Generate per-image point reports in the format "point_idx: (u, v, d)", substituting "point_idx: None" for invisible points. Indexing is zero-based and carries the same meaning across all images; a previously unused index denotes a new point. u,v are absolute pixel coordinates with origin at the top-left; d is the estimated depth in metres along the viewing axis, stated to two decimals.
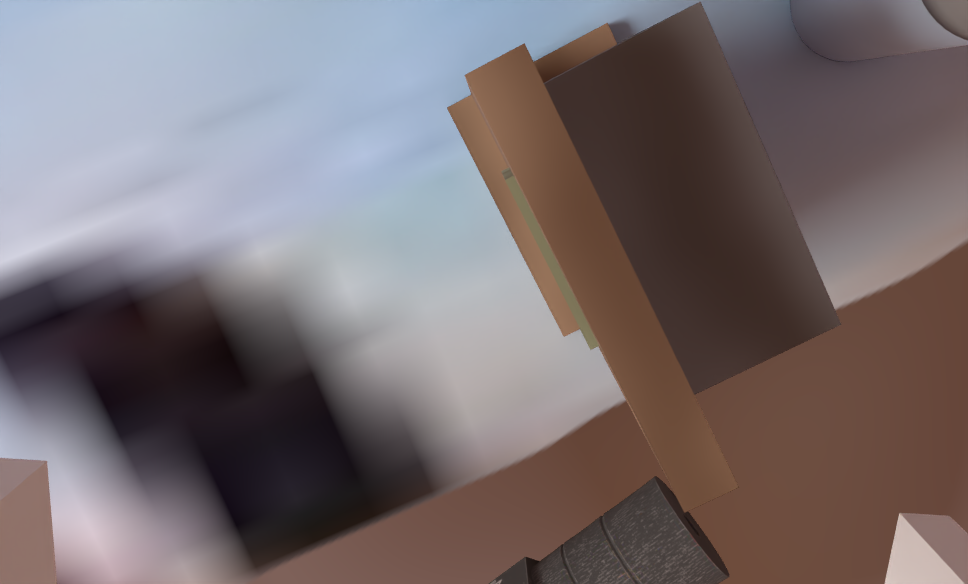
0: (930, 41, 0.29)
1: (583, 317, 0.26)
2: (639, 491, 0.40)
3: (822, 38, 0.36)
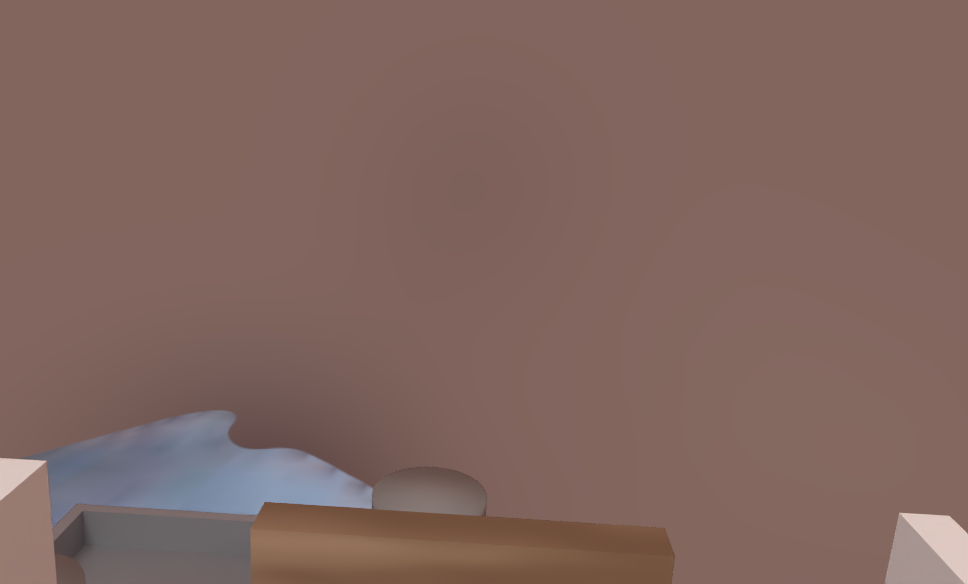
0: None
1: None
2: None
3: None
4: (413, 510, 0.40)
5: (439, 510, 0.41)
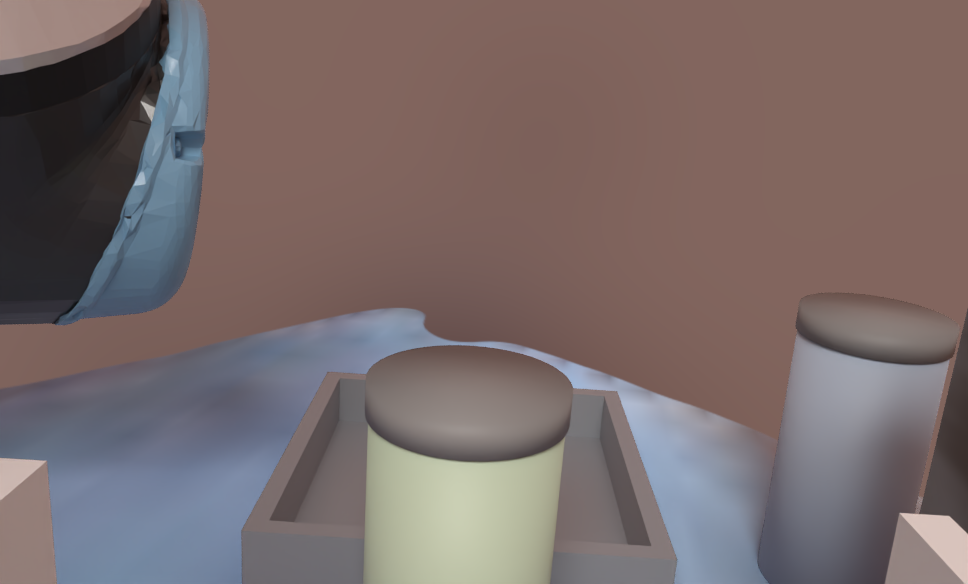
0: (935, 409, 0.32)
1: None
2: None
3: (880, 573, 0.33)
4: (880, 327, 0.31)
5: (911, 327, 0.31)
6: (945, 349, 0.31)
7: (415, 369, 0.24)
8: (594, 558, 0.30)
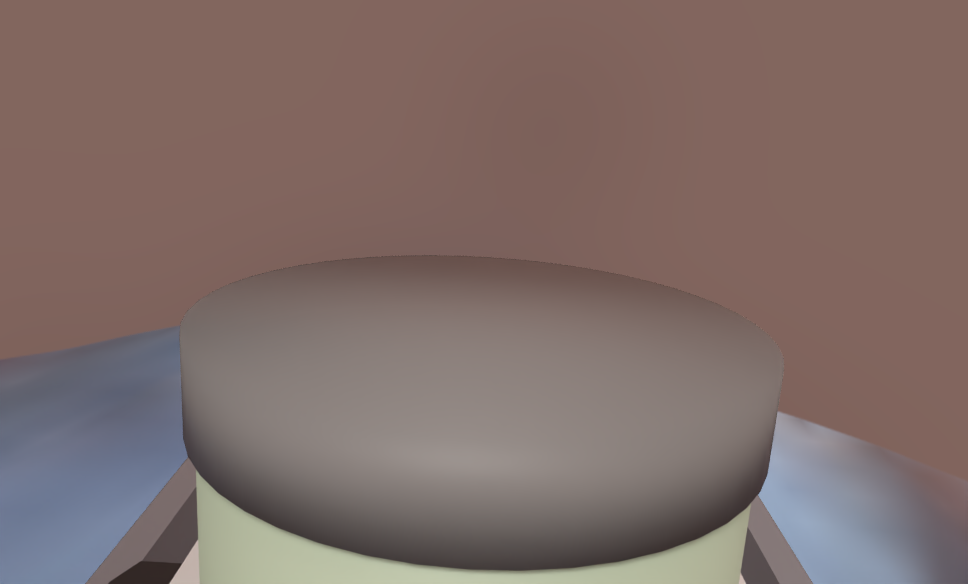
0: None
1: None
2: None
3: None
4: None
5: None
6: None
7: (337, 294, 0.09)
8: None
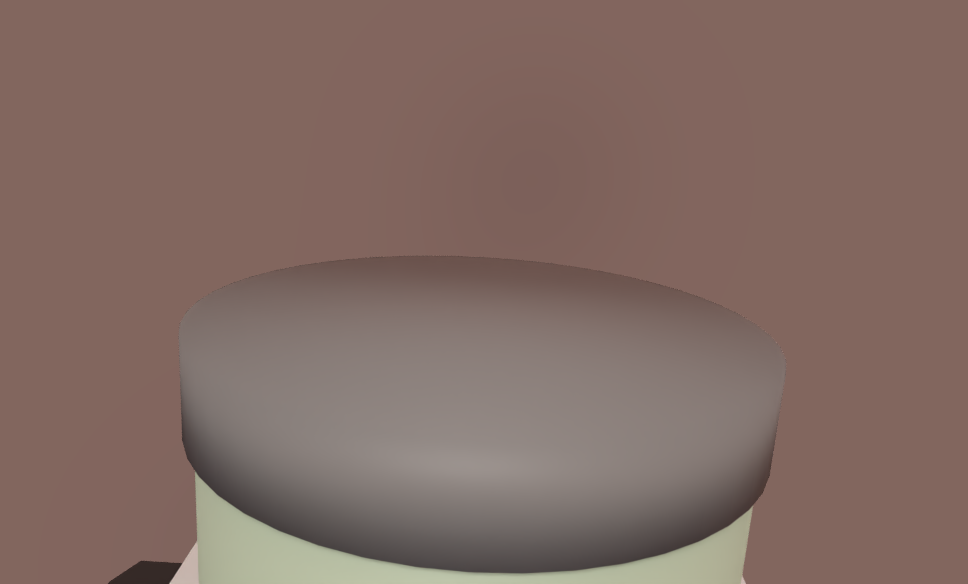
0: None
1: None
2: None
3: None
4: None
5: None
6: None
7: (337, 294, 0.09)
8: None
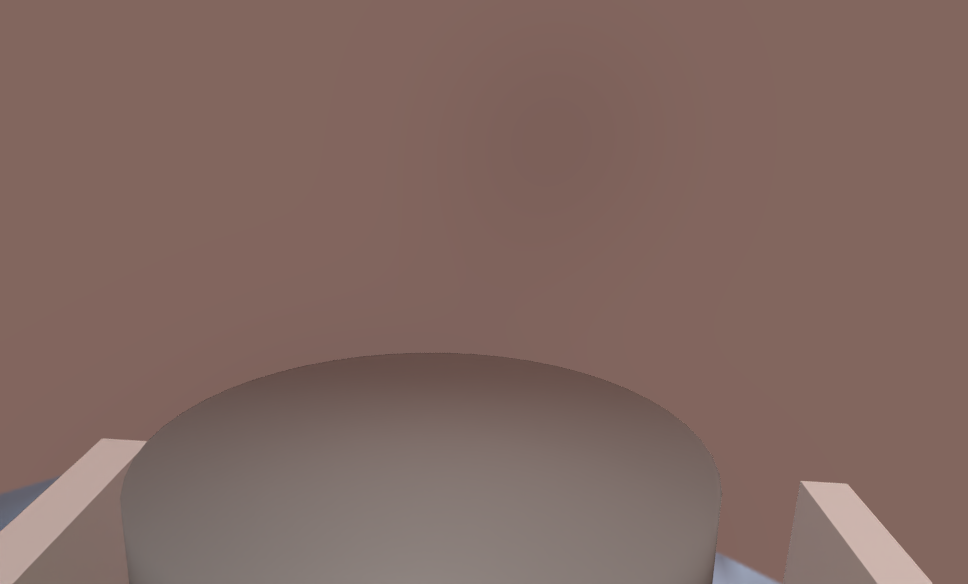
0: None
1: None
2: None
3: None
4: None
5: None
6: None
7: (286, 422, 0.09)
8: None
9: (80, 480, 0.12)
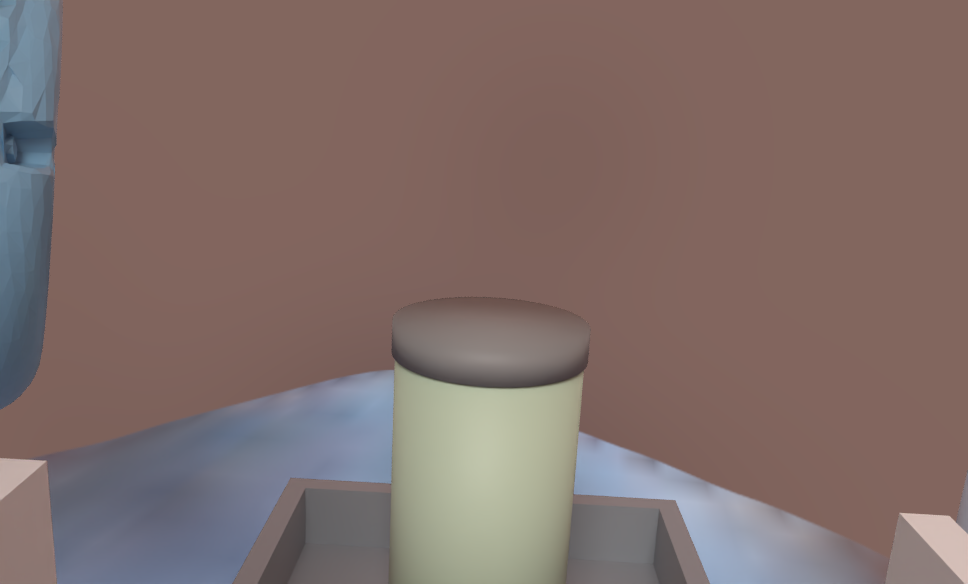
0: None
1: None
2: None
3: None
4: None
5: None
6: None
7: (439, 313, 0.25)
8: None
9: None
